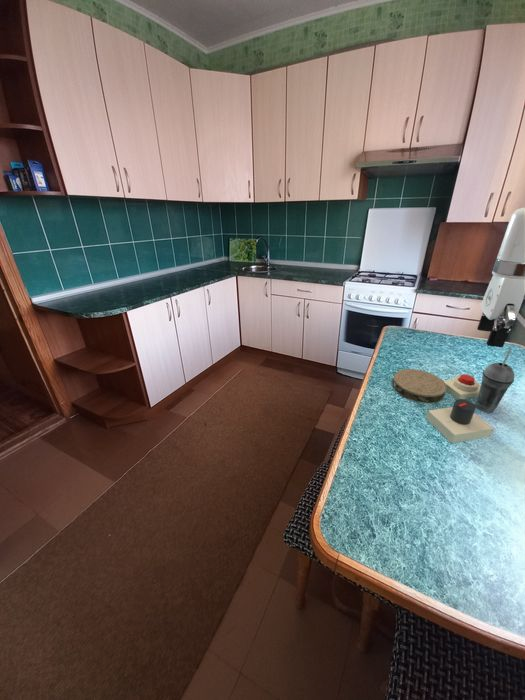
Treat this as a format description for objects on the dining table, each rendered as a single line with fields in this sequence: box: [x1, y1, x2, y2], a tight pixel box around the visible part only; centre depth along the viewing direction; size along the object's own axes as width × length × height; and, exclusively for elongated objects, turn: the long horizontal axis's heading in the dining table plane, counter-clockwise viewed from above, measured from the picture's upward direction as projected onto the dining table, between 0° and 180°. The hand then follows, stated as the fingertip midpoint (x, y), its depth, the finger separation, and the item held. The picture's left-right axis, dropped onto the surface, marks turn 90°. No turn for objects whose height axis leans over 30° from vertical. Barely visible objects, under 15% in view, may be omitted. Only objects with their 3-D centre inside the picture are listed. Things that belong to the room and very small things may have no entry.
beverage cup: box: [475, 348, 515, 414], centre depth 84 cm, size 7×7×20 cm
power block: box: [443, 375, 481, 400], centre depth 96 cm, size 10×8×4 cm
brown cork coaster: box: [391, 368, 447, 404], centre depth 97 cm, size 16×16×3 cm
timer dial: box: [450, 398, 477, 425], centre depth 79 cm, size 5×5×5 cm
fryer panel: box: [425, 406, 495, 444], centre depth 81 cm, size 12×10×3 cm
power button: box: [459, 373, 476, 385], centre depth 94 cm, size 4×4×2 cm
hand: (488, 337), depth 73 cm, fingers open, 9 cm apart
